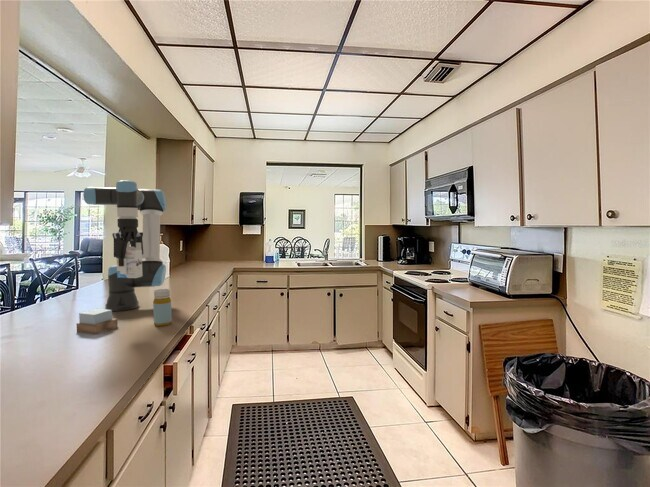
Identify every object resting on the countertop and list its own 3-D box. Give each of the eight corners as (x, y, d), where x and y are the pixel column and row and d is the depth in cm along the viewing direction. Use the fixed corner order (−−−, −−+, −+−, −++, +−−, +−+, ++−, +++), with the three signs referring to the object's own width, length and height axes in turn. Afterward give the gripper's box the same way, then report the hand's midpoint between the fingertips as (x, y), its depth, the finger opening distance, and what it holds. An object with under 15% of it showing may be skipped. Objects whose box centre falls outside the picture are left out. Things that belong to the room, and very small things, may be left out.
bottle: (151, 324, 149) (150, 290, 148) (167, 321, 154) (166, 288, 153) (157, 327, 144) (156, 292, 143) (174, 324, 149) (173, 290, 148)
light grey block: (97, 317, 146) (97, 308, 146) (112, 319, 144) (111, 310, 144) (79, 322, 138) (79, 313, 138) (94, 324, 136) (94, 314, 136)
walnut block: (99, 326, 147) (98, 317, 147) (117, 328, 145) (117, 318, 145) (76, 333, 138) (76, 323, 138) (96, 335, 135) (95, 325, 135)
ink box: (116, 278, 142) (115, 242, 141) (124, 276, 147) (123, 242, 146) (135, 278, 141) (134, 243, 140) (143, 276, 146) (142, 242, 145)
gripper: (138, 218, 152) (139, 269, 154) (100, 217, 134) (103, 275, 136) (152, 218, 150) (153, 270, 152) (115, 217, 132) (118, 276, 134)
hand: (129, 272), depth 144 cm, fingers closed on ink box, 6 cm apart
